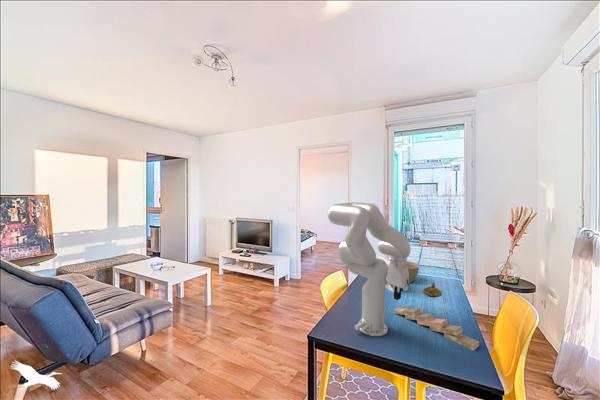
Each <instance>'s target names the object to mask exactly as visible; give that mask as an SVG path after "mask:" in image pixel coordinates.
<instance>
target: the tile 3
mask: <svg viewBox="0 0 600 400" xmlns="http://www.w3.org/2000/svg"><path fill="white" fill-rule="evenodd" d="M429 329H430V331H433V332H436V333H441V334H444V333H447V334H452V335H458V334H462V333H463V331H464V330H463V327H462V326H460V325H459V326H458V325H453V324H449V323H447V325H445V326H444V327H442V328H440V327H433V326H429Z"/></svg>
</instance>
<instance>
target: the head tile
mask: <svg viewBox="0 0 600 400" xmlns="http://www.w3.org/2000/svg"><path fill="white" fill-rule="evenodd" d="M393 312H394V314H395V315H403V316H405V315H410V316H416V315H418V314H420V313H422V311H421V309H420V308H413V307H405V306H404V307H403V306H399V307H397V308H395V309H393Z"/></svg>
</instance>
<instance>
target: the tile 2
mask: <svg viewBox="0 0 600 400" xmlns="http://www.w3.org/2000/svg"><path fill="white" fill-rule="evenodd" d="M416 323H417V325H420V326H427V327H430V326H433V327H440V328H442V327H444V326H445V325H447V324H448V321H447V319H446V318H445V319H443V318H435V317H434V318H433V319H432V320H430V321H428V322H427V321H419V320H416Z"/></svg>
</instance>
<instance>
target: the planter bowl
mask: <svg viewBox="0 0 600 400" xmlns="http://www.w3.org/2000/svg"><path fill="white" fill-rule="evenodd" d="M407 267H408V272H409V284H411V283H413V281H414V280H415V279H416V277H417V276H418V274H419V269H420V265H419V263H416V262H413V261H408V260H407Z"/></svg>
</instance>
